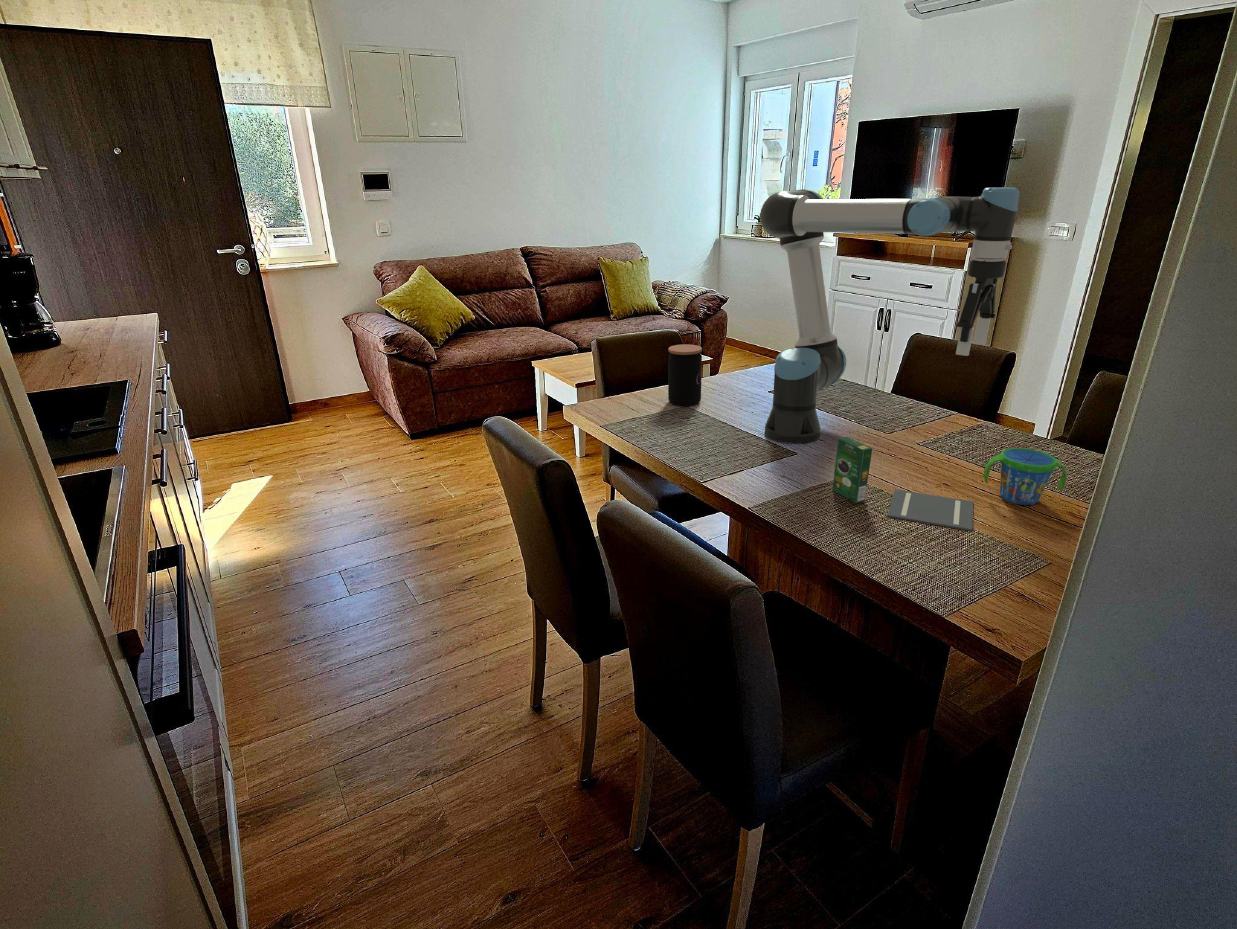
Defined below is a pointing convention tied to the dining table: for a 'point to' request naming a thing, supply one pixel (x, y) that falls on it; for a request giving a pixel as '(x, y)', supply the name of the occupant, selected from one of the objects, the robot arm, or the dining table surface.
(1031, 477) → the snack cup
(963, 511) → the mat
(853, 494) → the coffee box
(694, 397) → the coffee jar
